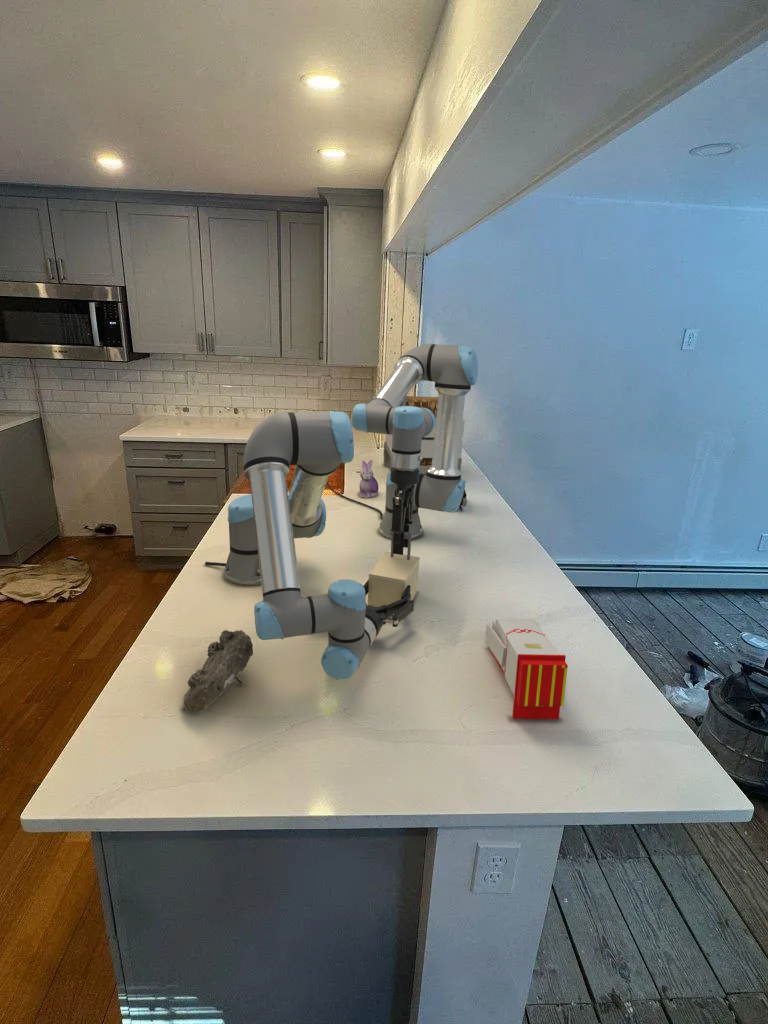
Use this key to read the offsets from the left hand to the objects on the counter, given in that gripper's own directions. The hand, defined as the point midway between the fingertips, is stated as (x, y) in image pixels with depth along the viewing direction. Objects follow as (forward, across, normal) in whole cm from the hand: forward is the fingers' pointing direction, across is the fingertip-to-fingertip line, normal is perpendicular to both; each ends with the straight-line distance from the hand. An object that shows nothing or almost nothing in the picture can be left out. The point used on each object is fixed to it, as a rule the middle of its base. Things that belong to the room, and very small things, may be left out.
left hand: (389, 586), depth 148 cm
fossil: (-42, -23, -6) cm, 49 cm away
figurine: (+89, -35, -6) cm, 96 cm away
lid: (+5, 0, +3) cm, 6 cm away
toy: (-19, +35, -6) cm, 40 cm away
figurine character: (+90, +2, -6) cm, 90 cm away
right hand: (+10, 0, +6) cm, 12 cm away
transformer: (+131, -24, -6) cm, 134 cm away
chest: (+4, 0, -6) cm, 8 cm away
